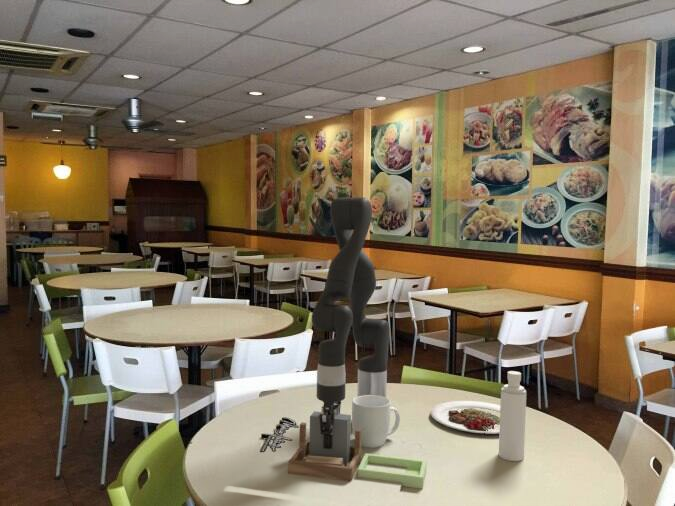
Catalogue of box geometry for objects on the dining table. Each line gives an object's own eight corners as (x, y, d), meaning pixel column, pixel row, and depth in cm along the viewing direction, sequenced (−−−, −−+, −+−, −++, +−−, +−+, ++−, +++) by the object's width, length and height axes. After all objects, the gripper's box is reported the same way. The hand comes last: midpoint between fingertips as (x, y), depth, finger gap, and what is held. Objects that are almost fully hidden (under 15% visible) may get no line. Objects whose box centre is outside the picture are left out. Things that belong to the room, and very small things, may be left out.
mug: (388, 434, 169) (389, 391, 168) (408, 447, 159) (409, 402, 158) (344, 441, 162) (345, 397, 161) (362, 456, 152) (363, 409, 152)
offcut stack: (306, 465, 144) (306, 453, 143) (344, 469, 141) (344, 458, 141) (301, 472, 139) (301, 460, 139) (340, 477, 137) (340, 465, 137)
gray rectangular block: (313, 455, 150) (314, 411, 149) (349, 459, 147) (350, 415, 147) (309, 461, 146) (309, 416, 145) (346, 465, 144) (347, 420, 143)
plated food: (490, 403, 201) (490, 393, 201) (545, 433, 173) (546, 422, 173) (415, 410, 192) (415, 400, 192) (460, 443, 163) (461, 431, 163)
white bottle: (505, 462, 150) (508, 370, 149) (494, 451, 157) (497, 364, 156) (528, 460, 151) (532, 369, 150) (516, 450, 158) (520, 363, 157)
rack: (304, 454, 152) (305, 418, 152) (362, 461, 149) (363, 424, 148) (288, 476, 139) (288, 437, 138) (351, 485, 135) (352, 444, 135)
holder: (365, 463, 148) (365, 453, 147) (426, 471, 144) (426, 460, 144) (357, 480, 138) (357, 469, 138) (422, 488, 134) (423, 477, 134)
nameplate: (271, 416, 179) (302, 418, 178) (271, 421, 179) (302, 422, 178) (251, 451, 151) (288, 453, 151) (251, 456, 151) (287, 458, 151)
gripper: (338, 389, 138) (337, 457, 139) (351, 374, 152) (349, 436, 152) (309, 386, 140) (308, 454, 140) (324, 372, 153) (323, 433, 154)
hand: (329, 444), depth 146 cm, fingers closed on gray rectangular block, 4 cm apart
